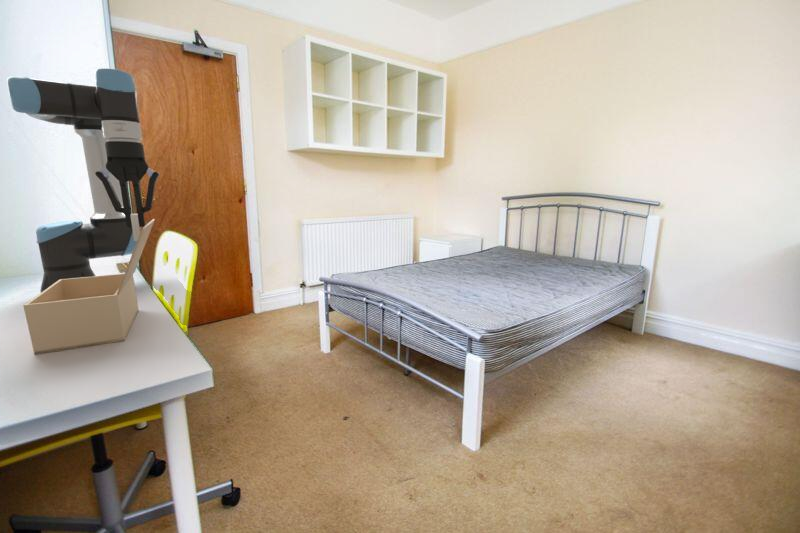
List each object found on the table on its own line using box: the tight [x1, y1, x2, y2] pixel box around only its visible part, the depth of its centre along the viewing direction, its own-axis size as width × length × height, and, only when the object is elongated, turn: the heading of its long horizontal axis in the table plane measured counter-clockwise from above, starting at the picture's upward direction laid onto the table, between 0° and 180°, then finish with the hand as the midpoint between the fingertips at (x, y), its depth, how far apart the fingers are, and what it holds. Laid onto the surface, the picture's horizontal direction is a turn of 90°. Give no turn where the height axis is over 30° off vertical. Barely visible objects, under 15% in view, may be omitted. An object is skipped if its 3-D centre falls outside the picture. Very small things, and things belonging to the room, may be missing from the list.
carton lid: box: [117, 218, 156, 295], centre depth 99 cm, size 24×16×1 cm
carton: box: [22, 273, 139, 355], centre depth 96 cm, size 24×16×11 cm, turn 27°
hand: (138, 240), depth 98 cm, fingers closed
